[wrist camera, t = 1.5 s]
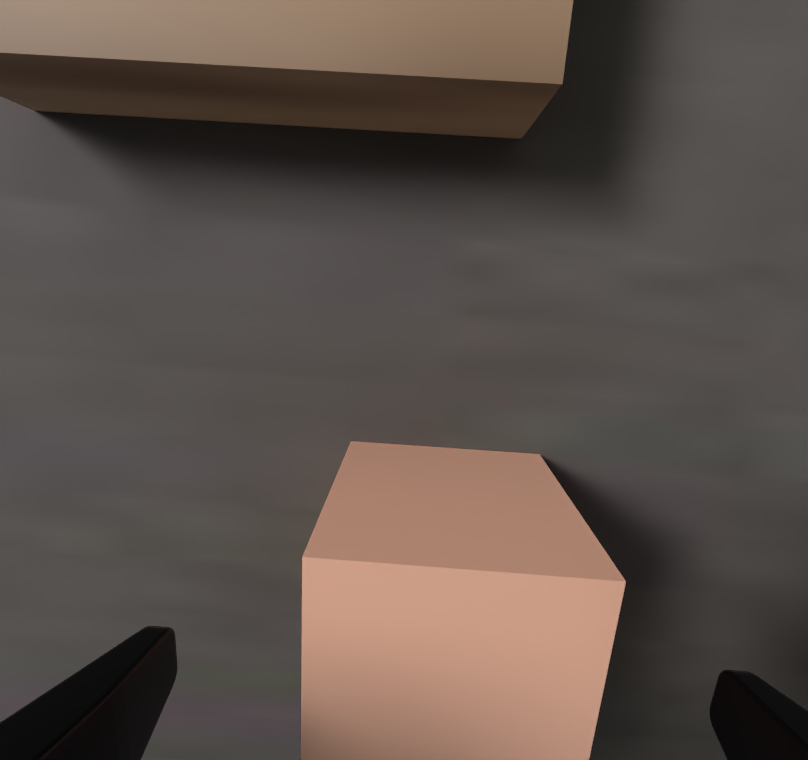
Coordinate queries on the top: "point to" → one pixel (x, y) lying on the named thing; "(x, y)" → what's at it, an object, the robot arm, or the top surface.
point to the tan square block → (291, 61)
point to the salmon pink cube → (453, 611)
